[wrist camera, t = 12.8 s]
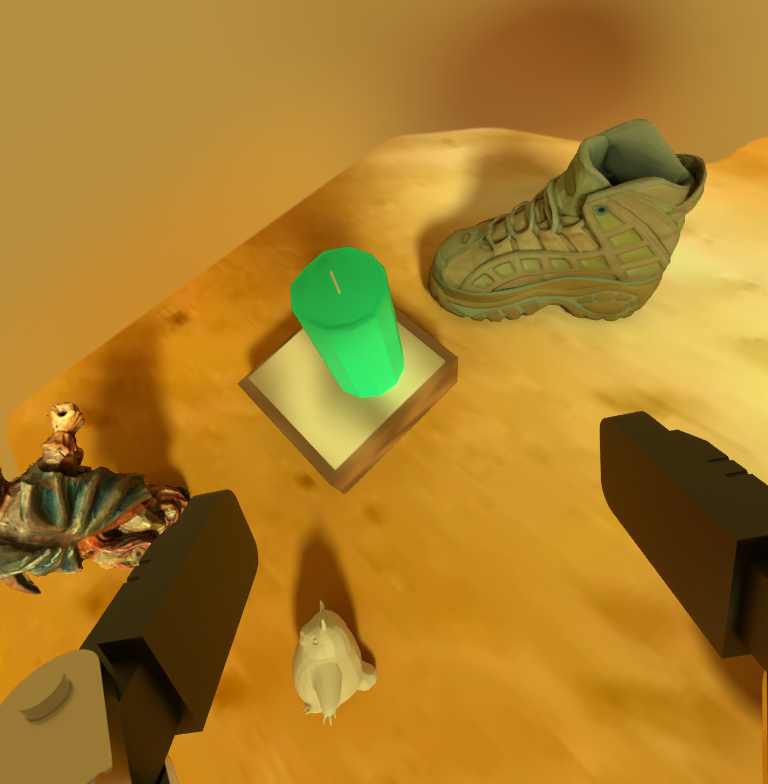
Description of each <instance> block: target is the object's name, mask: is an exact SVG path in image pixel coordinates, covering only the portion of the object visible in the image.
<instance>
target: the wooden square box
mask: <svg viewBox="0 0 768 784" xmlns="http://www.w3.org/2000/svg"><path fill="white" fill-rule="evenodd" d="M393 307H394V306H393ZM394 312H395V316H396V321H397V325H398V330H399V335H400V339H401V344H402V348H403V356H404V365H405V368H404V370H403V372H402V374H401V376H400V378H399V380H398V382H397V384H396V385H395V386H394V387H392V388H391V389H389V390H388V391H386V392H385V393H384V394H382V395H381V396H374V397H366V398H359V397H357V396H355V395H352V394H350V393H347V392H345V391H343V389H342V388H341V387H340V385H339V384H338V382H337V381H336V380H335V378H334V377H333V375H332V374H331V372H330V370H329V369H328V367H327V365H326V364H325V362H324V361H323V359H322V357H321V356H320V354H319V353H318V351H317V349H316V348H315V346H314V345H313V343H312V341H311V340H310V338H309V337H308V335H307V333H306V332H305V330H304V328H303V327H301V328H299V329H298V330H297V331H296V332H295V333H294V334H293V335H292V336H290V337H289V338H288V339H287V340H286V341H285V342H284V343H283V344H282V345H280V346H279V347H278V348H277V349H276V350H275V351H274V352H273V353H271V354H270V355H269V356H268V357H267V358H266V359H265V360H264V361H263V362H261V363H260V364H259V365H258V366H257V367H256V368H255V369H254V370H252V371H251V372H250V373H249V374H248V375H247V376H246V377H245V378H244V379H242V380H241V381H240V382H239V383H238V385H239V386H240V387H241V388H242V389H243V390H244V391H245V392H246V394H247V395H248V396H249V397H250V398H251V399H252V400H253V401H254V402H255V403H256V404H257V406H258V407H259V408H260V409H261V410H262V411H263V412H264V413H265V414H266V415H267V416H268V417H269V419H270V420H271V421H272V422H273V423H274V424H275V425H276V426H277V427H278V428H279V429H280V431H281V432H282V433H283V434H284V435H285V436H286V437H287V438H288V439H289V440H290V441H291V442H292V444H293V445H294V446H295V447H296V448H297V449H298V450H299V451H300V452H301V453H302V454H303V456H304V457H305V458H306V459H307V460H308V461H309V462H310V463H311V464H312V465H313V466H314V467H315V469H316V470H317V471H318V472H319V473H320V474H321V475H322V476H323V477H324V478H325V479H326V481H327V482H328V483H329V484H330V485H332V486H333V487H335V488H336V489H338V490H339V491H341V492H342V493H344V494H346V493H347V492H348V491H349V490H350V489H351V488H352V487H353V486H354V485H355V484H356V483H357V482H358V481H359V480H360V479H361V478H362V477H363V476H364V475H365V474H366V473H367V472H368V471H369V470H370V469H371V468H372V467H373V466H374V465H375V464H376V463H377V462H378V461H379V460H380V459H381V458H382V457H383V456H384V455H385V454H386V453H387V452H388V451H389V450H390V449H391V448H392V447H393V446H394V445H395V444H396V443H397V441H398V440H399V439H400V438H401V437H402V436H403V435H404V434H405V433H406V432H407V431H408V430H409V429H410V428H411V427H412V426H413V425H414V424H415V423H416V422H417V421H418V420H419V419H420V418H421V417H422V416H423V415H424V414H425V413H426V412H427V411H428V410H429V409H430V408H431V407H432V406H433V405H434V404H435V403H436V402H437V401H438V400H439V399H440V398H441V397H442V396H443V395H444V394H445V393H446V392H447V391H448V390H449V389H450V388H451V387H452V386H453V385H454V384H455V383H456V382H457V371H458V357H456V356H455V355H454V354H453V353H451V352H450V351H449V350H448V349H446V348H445V347H444V346H443V345H441V344H440V343H439V342H438V341H437V340H435V339H434V338H433V337H432V336H430V335H429V334H428V333H427V332H425V331H424V330H423V329H422V328H420V327H419V326H418V325H417V324H415V323H414V322H413V321H412V320H410V319H409V318H408V317H407V316H405V315H404V314H403V313H402V312H400V311H399V310H398V309H397V308H395V307H394Z"/></svg>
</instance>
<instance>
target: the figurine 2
mask: <svg viewBox="0 0 768 784" xmlns="http://www.w3.org/2000/svg"><path fill="white" fill-rule="evenodd" d="M299 635H300V638H299V641H298V643H297V646H296V649H295V653H294V657H293V664H292V674H293V681H294V685H295V688H296V691H297V692H298V694H299V696H300V697H301V698H302V699H303V700H304V701H305V702H306V703H305V704H303V705H302V706H305V705H306V708H305V709H304V710H307V709H308V712H307V713H306V714H308V713H320V712H323V715H324V717H323V724H324V722H325V719H326V717H329V720H330V724H331V721H332V715H333V714H334V716H335V718H336V709H337V708H338V707H339V706H340V704H341V703H343V702H345V701H346V700H348V699H349V698H350V697H351V696H352V695H353V694H354V693H355V692H356V690H363V691H366V690H368V689H370V688H371V687H372V686H373V685H374V684H375V683H376V680H377V670H376V669H375V667H374V666H373V665H371V664H369V663H367V662H365V661H363V660H362V657H361V651H360V649H359V646H358V644H357V642H356V640H355V638H354V636H353V634H352V633H351V631H350V630H349V628H348V627H347V625H346V623H345V622H344V621H343V619H342V618H341V617H340V616H339V615H338V614H336V613H335V612H333V611H330V610H324V603H323V602H322V601H320V611H319V612H318V613H317V614H316V615H315V616H314V617H313V618H312V619H311V620H310V621H309V622H308V623H307V624H306V625H304V626H303V627H302V628H301V630H300V633H299ZM304 710H303V711H304ZM306 714H305V715H306Z"/></svg>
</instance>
